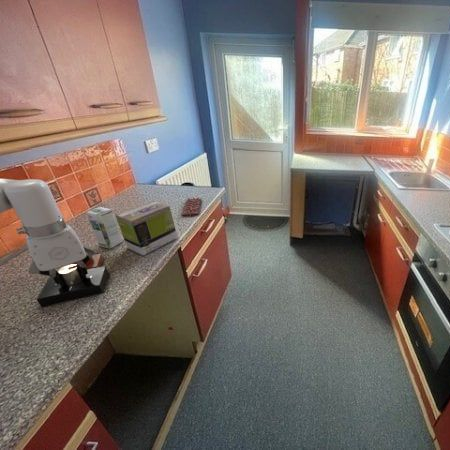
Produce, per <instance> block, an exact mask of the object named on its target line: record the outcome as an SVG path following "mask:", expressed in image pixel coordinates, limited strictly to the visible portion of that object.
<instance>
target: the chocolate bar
mask: <svg viewBox="0 0 450 450" xmlns="http://www.w3.org/2000/svg"><path fill="white" fill-rule="evenodd" d="M201 204H202V198H201V197H196V198H195V197H193V198H190V197H188V198H186V202H185V204H184V208H183V210H182V213H181V215H182V217H186V216H187V217H192V216H199V214H200V209H201Z"/></svg>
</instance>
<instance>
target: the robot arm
mask: <svg viewBox="0 0 450 450" xmlns="http://www.w3.org/2000/svg"><path fill="white" fill-rule="evenodd" d="M12 209H13V210H14V211H15V214H16V215H17V217H18V219H19V221H20V222H21V224H22V227H20V228H16V232H17V234H18V235H22V234H25V242H26V243H25V244H26V246H27V249H28V251H29V254H30V255H31V258H32V262H31V263H30V265H29V268H28V273H29V274H32V275H33V274H34V275H42V276H46V277H49V278H50V277H53V279H54V281H55V283H56V284H57V285H58V284H60V286H61V287H64V286H65V285H64V283H63V281H62V279H61V277H60V275H59V273H58V270H57V269H58V268H59V269H60V268H61V267H62V266H65V265H68V264H71V263H75V262H76V263H77V264H78V267H79V270H80V272H81V274H82V276H83V278H84V279H87V277H86V274H88V272H87V270H86V267H85V266H86V263H87V262H88V261H89V259H90V258H91V257H92V256H93V255H96V251H95V249H93V248H91V247H89V246H86V245H84V244H82V242H81V240H80V238H79V236H78V234H77V233H76V232H75V230H74V229H73V227H72V226H71V225H70V224H67V223H66V221H65V218H64V217H63V214H62V212H61V210H60V208H59V206H58V203H57V202H56V200H55V197H54V195H53V193H52V191H51V189H50V186H49V184H48V183H47V182H46V181H44V180H43V179H35V178H27V179H19V180H18V179H10V178H0V215H1V214H3V213H4V212H6V211H9V210H12ZM86 253H87V254H86Z"/></svg>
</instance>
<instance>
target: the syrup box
mask: <svg viewBox="0 0 450 450" xmlns="http://www.w3.org/2000/svg"><path fill="white" fill-rule="evenodd" d="M86 216H87V218H88V220H89V224H90V226H91V229H92V232H93V234H94V236H95V239H96V241H97V244H98V247H102V248H106V249H109V250H111V249H112V248H114V247H116V246H118V245H119V244H121V243H123V242H124V241H123V238H122V234H121V231H120V228H119V225H118V222H117V219H116V216H115V214H114V211H113V209H112V208H108V207H102V206H99V207H96V208H93V209H90V210H88V211H86Z"/></svg>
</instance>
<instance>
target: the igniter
mask: <svg viewBox="0 0 450 450" xmlns="http://www.w3.org/2000/svg"><path fill="white" fill-rule="evenodd" d="M85 253H86V252H85ZM86 254H87V253H86ZM103 261H104V256H103V254H102V253H97V254H96V253H95V254H94V255H93V256H92V257H91V258H90V259H89V261H88V262H87V263H86V266H85V267H86V270H87V269H92V268H98V267H102V264H103ZM71 264H76V265H78V264H77V263H71ZM71 264H68V265H71ZM65 266H67V265H65ZM62 267H64V266H62ZM62 267H60V269H61V268H62Z"/></svg>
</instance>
